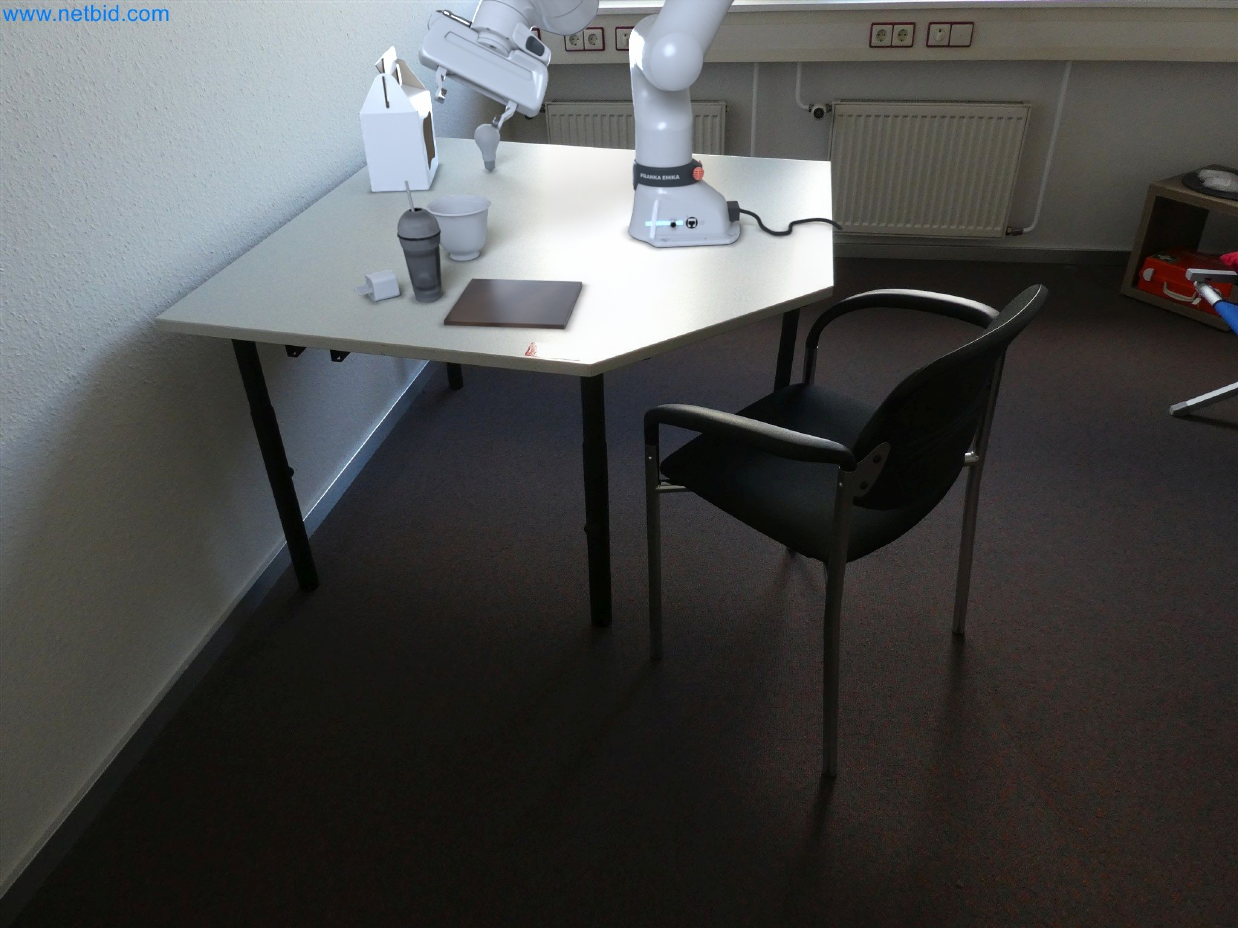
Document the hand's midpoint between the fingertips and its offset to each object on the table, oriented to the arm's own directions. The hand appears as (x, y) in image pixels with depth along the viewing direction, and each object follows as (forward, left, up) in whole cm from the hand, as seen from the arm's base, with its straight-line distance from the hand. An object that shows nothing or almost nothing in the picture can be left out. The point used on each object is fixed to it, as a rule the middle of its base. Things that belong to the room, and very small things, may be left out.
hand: (467, 114), depth 141 cm
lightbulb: (+18, -75, -30) cm, 83 cm away
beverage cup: (+10, +2, -30) cm, 32 cm away
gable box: (+37, -68, -30) cm, 83 cm away
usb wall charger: (+19, +3, -30) cm, 36 cm away
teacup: (+10, -17, -30) cm, 36 cm away
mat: (-6, +4, -30) cm, 31 cm away
